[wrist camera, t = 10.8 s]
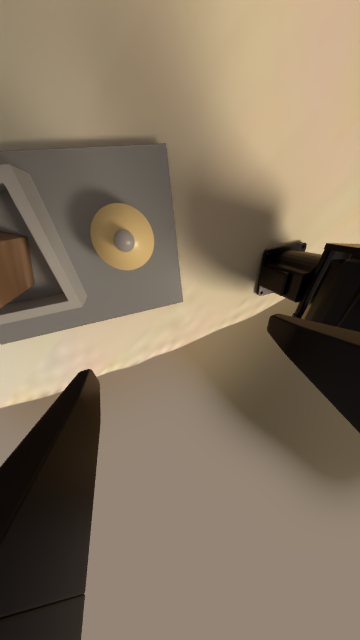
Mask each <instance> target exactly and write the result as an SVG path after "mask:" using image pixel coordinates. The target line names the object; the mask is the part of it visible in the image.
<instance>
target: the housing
mask: <svg viewBox="0 0 360 640" xmlns="http://www.w3.org/2000/svg"><path fill="white" fill-rule="evenodd" d="M0 231H3V232H7V233H12V234H17V235H21V236H26V237H28V244H29V250H30V256H31V262H32V269H33V275H34V281H35V284H34V285H33V286H31V287H30V288H28V289H27V290H26V291H24V292H23V293H21V294H20V295H19V296H17V297H16V298H14V299H13V300H11V301H10V302H9V303H7V304H6V305H4V306H3V307H2V308H0V344H1V345H2V344H6V343H10V342H15V341H19V340H23V339H27V338H32V337H36V336H40V335H44V334H49V333H53V332H57V331H61V330H66V329H70V328H74V327H78V326H83V325H87V324H91V323H95V322H100V321H104V320H108V319H112V318H117V317H121V316H125V315H129V314H134V313H138V312H142V311H146V310H150V309H155V308H159V307H163V306H167V305H172V304H176V303H180V302H183V296H182V287H181V278H180V268H179V259H178V250H177V241H176V231H175V222H174V213H173V204H172V195H171V185H170V176H169V167H168V158H167V148H166V144H144V145H123V146H101V147H80V148H58V149H37V150H15V151H0Z"/></svg>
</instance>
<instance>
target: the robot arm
mask: <svg viewBox="0 0 360 640" xmlns="http://www.w3.org/2000/svg"><path fill="white" fill-rule="evenodd" d="M306 245H307V244H306V243H297V244H292V245H287V246H281V247H276V248H271V249H267V250H265V251H264V254H263V259H262V265H261V271H260V277H259V283H258V289H257V295H259V296H262V295H266V294H270V293H276V294H278V295H280V296H283V297H285V298H288V299H289V300H292V301H294V302H298V303H299V305H298V307H297V309H296V311H295V313H293V315H292V317H291V316H286V315H282V314H275V315H272V316H270V318H269V322H268V326H267V331H268V333H269V334H270V335H271V336H272V338H273V339H274V340H275V342H276V343H277V344H278V345H279V347H280V348H281V349H282V351H283V352H284V353H285V354H286V355H287V357H288V358H289V359H290V360H291V361H292V362H293V363H294V364H295V365H296V366H297V367H298V368H299V369H300V370H301V371H302V373H303V374H304V375H305V376H306V377H307V378H308V379H309V380H310V381H311V382H312V383H313V384H314V385H315V386H316V387H317V388H318V389H319V390H320V392H321V393H322V394H323V395H324V396H325V397H326V398H327V399H328V400H329V401H330V402H331V403H332V404H333V405H334V406H335V407H336V409H337V410H338V411H339V412H340V413H341V414H342V415H343V416H344V417H345V418H346V419H347V420H348V421H349V422H350V423H351V424H352V426H353V427H355V429H356V430H357V431H358V432H359V433H360V244H339V243H326V245H325V247H324V249H325V250H324V252H323V254H322V255H320V254H315V253H309V252H305V249H306ZM267 253H268V255H267ZM260 292H261V293H260ZM99 433H100V384H99V381H98V379H97V377H96V376H95V374H94V373H93V371H92V370H91V369H87V370H84V371H81V372H79V373H78V374H77V375H76V377H75V378H74V379H73V380H72V381H71V383H70V384H69V385H68V386H67V387H66V389H65V390H64V391H63V392H62V394H61V395H60V396H59V397H58V398H57V399H56V401H55V402H54V403H53V404H52V405H51V407H50V408H49V409H48V410H47V412H46V413H45V414H44V415H43V416H42V417H41V419H40V420H39V421H38V422H37V423H36V425H35V426H34V427H33V428H32V429H31V431H30V432H29V433H28V434H27V435H26V437H25V438H24V439H23V440H22V442H21V443H20V444H19V445H18V446H17V448H16V449H15V450H14V451H13V452H12V454H11V455H10V456H9V457H8V458H7V460H6V461H5V462H4V463H3V464H2V466H1V467H0V640H81V633H82V622H83V609H84V600H85V595H84V593H85V587H86V575H87V565H88V554H89V542H90V531H91V521H92V510H93V499H94V488H95V476H96V466H97V455H98V454H97V453H98V444H99Z"/></svg>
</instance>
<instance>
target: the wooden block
mask: <svg viewBox="0 0 360 640" xmlns="http://www.w3.org/2000/svg"><path fill="white" fill-rule="evenodd" d="M34 284H35V281H34V275H33V269H32V262H31V256H30V250H29V244H28V237H26V236H21V235H17V234H12V233H7V232H3V231H0V308H2V307H3V306H4V305H6V304H7V303H9V302H10V301H11V300H13V299H14V298H16V297H17V296H19V295H20V294H21V293H23V292H24V291H26V290H27V289H28V288H30V287H31V286H33V285H34Z"/></svg>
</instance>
